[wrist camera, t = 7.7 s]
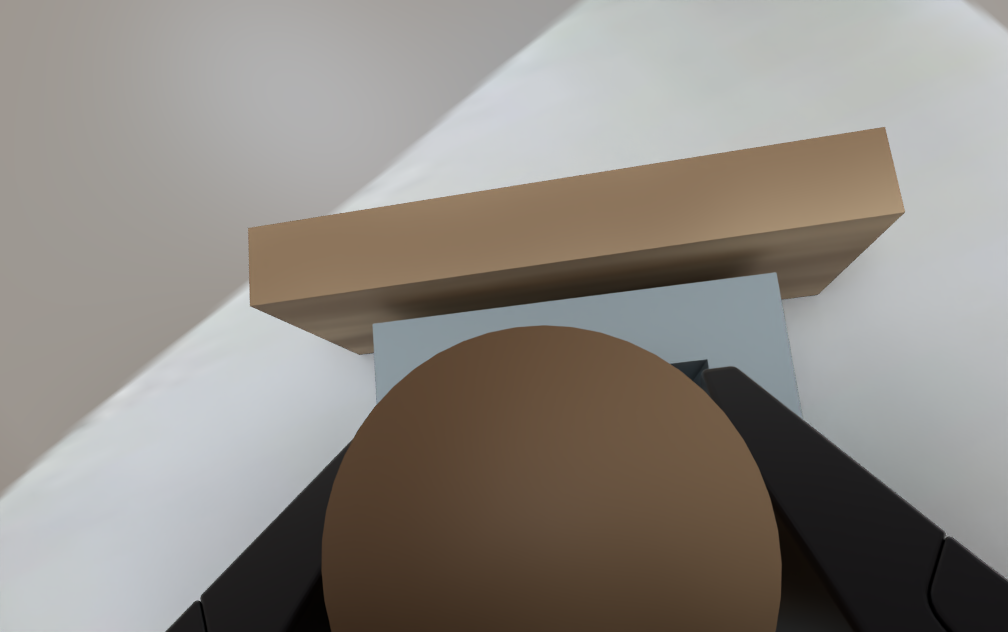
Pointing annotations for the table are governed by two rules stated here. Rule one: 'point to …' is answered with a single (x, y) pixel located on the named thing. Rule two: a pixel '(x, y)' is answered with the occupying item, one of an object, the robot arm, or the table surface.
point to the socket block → (628, 330)
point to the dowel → (549, 498)
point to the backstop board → (583, 237)
